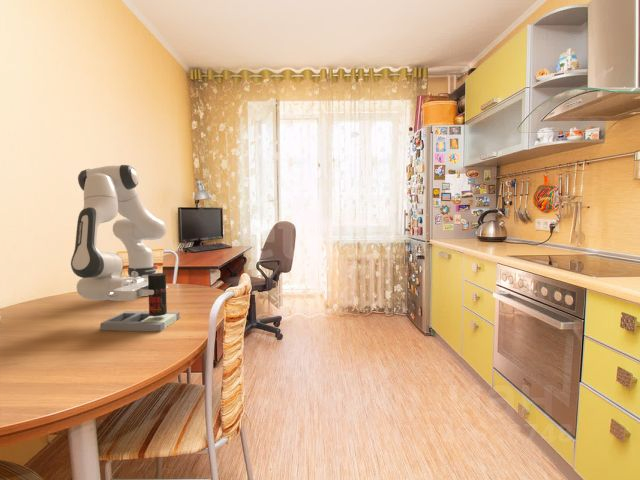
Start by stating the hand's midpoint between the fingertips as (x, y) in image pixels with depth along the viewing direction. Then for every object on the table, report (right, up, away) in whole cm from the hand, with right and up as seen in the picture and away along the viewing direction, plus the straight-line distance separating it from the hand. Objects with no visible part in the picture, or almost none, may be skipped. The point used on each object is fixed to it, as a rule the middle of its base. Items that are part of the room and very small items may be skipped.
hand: (159, 289), depth 118 cm
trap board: (-7, -13, +2) cm, 15 cm away
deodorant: (-1, -9, +1) cm, 10 cm away
